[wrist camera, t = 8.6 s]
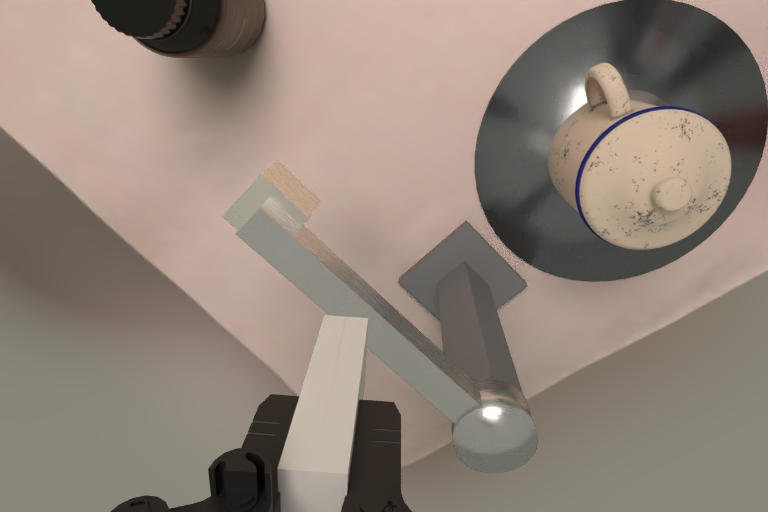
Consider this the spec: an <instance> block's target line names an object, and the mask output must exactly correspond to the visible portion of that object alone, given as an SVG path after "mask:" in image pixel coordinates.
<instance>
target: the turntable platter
mask: <svg viewBox="0 0 768 512" xmlns="http://www.w3.org/2000/svg"><path fill="white" fill-rule="evenodd" d="M600 63H609V64H611V65H612V66H614V67H615V68H616V70H617V71H618V72H619V74H620V76H621V77H622V79H623V81H624V83H625V86H626V88H627V91H628V95H629V98H630V99H631V100H635V101H639V102H643V103H647V104H651V105H655V106H675V107H682V108H686V109H690V110H693V111H695V112H697V113H699V114H701V115H703V116H705V117H706V118H707V119H709V120H710V121H711V122H712V123H713V124H714V125H715V126H716V127H717V128H718V129H719V131H720V132H721V134H722V135H723V137H724V138H725V140H726V142H727V145H728V147H729V151H730V156H731V177H730V182H729V186H728V189H727V192H726V194H725V196H724V198H723V200H722V202H721V204H720V206H719V207H718V209H717V210H716V211H715V213H714V214H713V215H712V216H711V217H710V219H709V220H708V221H707V222H706V223H705V224H704V225H702V226H701V227H700V228H699V229H698V230H696V231H695V232H694V233H692V234H691V235H689V236H687V237H686V238H684V239H682V240H680V241H678V242H675V243H673V244H670V245H667V246H664V247H660V248H655V249H646V250H635V249H626V248H621V247H617V246H614V245H611V244H609V243H607V242H605V241H603V240H601V239H600V238H599V237H597V236H596V235H595V234H594V233H592V232H591V231H590V229H589V228H588V227H587V226H586V225H585V223H584V222H583V220H582V218H581V216H580V214H579V213H578V212H577V211H576V210H575V209H574V208H573V206H572V205H571V204H570V203H569V202H568V201H567V200H566V199H565V198H564V197H563V196H562V195H561V194H560V193H559V192H558V191H557V189H556V188H555V186H554V184H553V182H552V180H551V177H550V174H549V169H548V155H549V150H550V146H551V143H552V140H553V138H554V136H555V134H556V132H557V130H558V129H559V127H560V126H561V125H562V124H563V122H564V121H565V120H566V119H567V118H568V117H569V116H570V115H571V114H572V113H574V112H575V111H576V110H578V109H579V108H581V107H583V106H584V105H586V104H588V102H587V98H586V93H585V85H584V83H585V76H586V73H587V72H588V70H589V69H590V68H592V67H594V66H596V65H598V64H600ZM767 127H768V100H767V95H766V89H765V84H764V81H763V78H762V75H761V72H760V69H759V66H758V64H757V62H756V60H755V59H754V57H753V55H752V53H751V51H750V50H749V48H748V47H747V46H746V44H745V43H744V42H743V41H742V39H741V38H740V37H739V36H738V34H736V33H735V32H734V31H733V30H732V29H731V28H730V27H729V26H727V25H726V24H725V23H724V22H723V21H721V20H719V19H718V18H716V17H715V16H713V15H711V14H710V13H708V12H706V11H704V10H701V9H699V8H696V7H694V6H691V5H689V4H685V3H681V2H676V1H672V0H623V1H618V2H614V3H609V4H604V5H601V6H598V7H596V8H593V9H590V10H587V11H584V12H582V13H580V14H578V15H576V16H574V17H572V18H570V19H568V20H566V21H564V22H562V23H561V24H559V25H558V26H556V27H555V28H553V29H552V30H550V31H549V32H547V33H546V34H544V35H543V36H542V37H541V38H539V39H538V40H537V41H536V42H535V43H534V44H532V45H531V46H530V47H529V48H528V49H527V50H526V51H525V52H524V53H523V54H522V55H521V56H520V57H519V58H518V59H517V61H516V62H515V63H514V64H513V65H512V66H511V68H510V69H509V70H508V72H507V73H506V75H505V76H504V77H503V79H502V80H501V81H500V83H499V85H498V87H497V88H496V90H495V92H494V94H493V96H492V97H491V99H490V101H489V104H488V106H487V109H486V111H485V114H484V116H483V119H482V122H481V126H480V130H479V133H478V138H477V145H476V152H475V176H476V184H477V190H478V194H479V198H480V202H481V205H482V207H483V210H484V212H485V214H486V217H487V219H488V221H489V223H490V224H491V226H492V228H493V229H494V231H495V232H496V234H497V235H498V236H499V238H500V239H501V240H502V241H503V242H504V244H505V245H506V246H507V247H508V248H509V249H511V250H512V251H513V252H514V253H515V254H516V255H517V256H518V257H520V258H521V259H523V260H524V261H526V262H527V263H529V264H530V265H532V266H534V267H536V268H538V269H540V270H542V271H544V272H547V273H550V274H553V275H556V276H559V277H563V278H568V279H573V280H582V281H611V280H618V279H625V278H629V277H633V276H637V275H641V274H644V273H647V272H650V271H652V270H655V269H658V268H660V267H662V266H664V265H666V264H669V263H671V262H673V261H675V260H677V259H678V258H680V257H681V256H683V255H685V254H686V253H688V252H689V251H691V250H693V249H694V248H695V247H696V246H698V245H699V244H700V243H702V242H703V241H704V240H706V239H707V238H708V237H709V236H710V235H711V234H712V233H713V232H714V231H715V230H716V229H717V228H719V227H720V226H721V225H722V223H723V222H724V221H725V220H726V219H727V218H728V216H729V215H730V214H731V213H732V212H733V211H734V209H735V208H736V206H737V205H738V203H739V202H740V201H741V199H742V198H743V196H744V195H745V193H746V191H747V189H748V187H749V186H750V184H751V182H752V180H753V178H754V176H755V173H756V171H757V168H758V166H759V163H760V160H761V158H762V154H763V150H764V146H765V142H766V135H767Z"/></svg>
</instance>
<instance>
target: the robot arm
mask: <svg viewBox="0 0 768 512" xmlns="http://www.w3.org/2000/svg"><path fill="white" fill-rule="evenodd" d="M367 332H368V318H359V317H345V316H331V315H324V318H323V321H322V324H321V328H320V331H319V334H318V337H317V341H316V344H315V347H314V351H313V354H312V357H311V360H310V364H309V367H308V370H307V374H306V377H305V380H304V383H303V387H302V390H301V393H300V396H287V395H273V394H272V395H270V396H269V397H268V398H267V399H266V400H265V401H264V402H262V403H261V404H260V405H259V407H258V409H257V412H256V414H255V416H254V419H253V423H252V424H251V426H250V428H249V431H248V434H247V436H246V438H245V441H244V443H243V445H242V448H238V449H234V450H231V451H229V452H226V453H224V454H223V455H221V456H220V457H218V458H217V459H216V460H215V461H214V462H213V463H212V465H211V466H210V467H209V469H208V470H209V480H210V490H211V497H209V498H207V499H205V500H203V501H201V502H197V503H194V504H190V505H185V506H181V507H176V508H171V509H169V508H168V506H167V504H166V502H165V501H163V500H162V499H160V498H158V497H155V496H141V497H136V498H132V499H130V500H128V501H126V502H124V503H122V504H120V505H118V506H117V507H116V508H115V509H113V510H112V511H111V512H412V511H411V510H410V509H409V508H408V506H407V505H406V504H405V502H404V500H403V497H402V494H401V414H400V413H399V411H398V409H397V407H396V405H395V404H394V402H384V401H371V400H363V394H364V385H365V368H366V350H367Z"/></svg>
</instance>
